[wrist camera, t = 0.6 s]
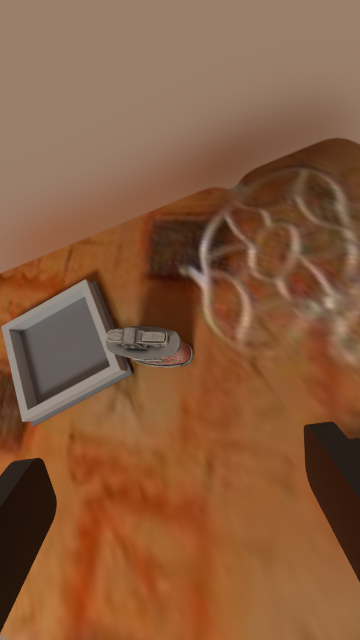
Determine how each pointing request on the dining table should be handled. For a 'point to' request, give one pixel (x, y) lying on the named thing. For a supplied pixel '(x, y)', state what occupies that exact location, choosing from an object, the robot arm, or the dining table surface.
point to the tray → (62, 352)
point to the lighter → (150, 346)
